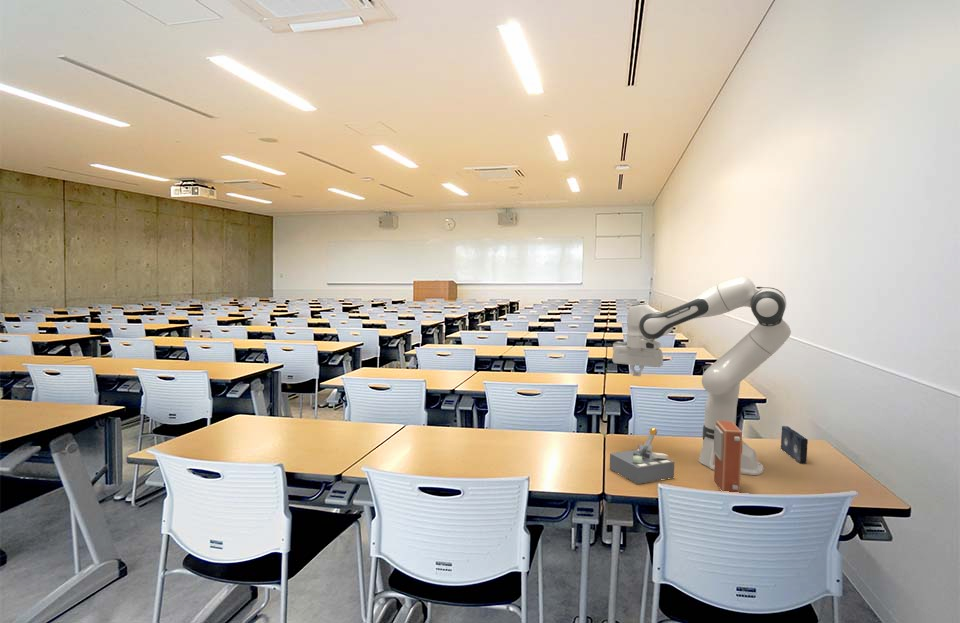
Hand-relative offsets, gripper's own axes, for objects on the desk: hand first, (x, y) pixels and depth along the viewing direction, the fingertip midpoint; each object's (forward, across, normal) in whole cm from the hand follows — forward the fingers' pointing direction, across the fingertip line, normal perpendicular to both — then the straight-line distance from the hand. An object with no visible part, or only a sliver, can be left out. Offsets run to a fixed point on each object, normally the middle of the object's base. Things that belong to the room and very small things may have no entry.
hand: (636, 375), depth 220 cm
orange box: (+31, +38, -22) cm, 54 cm away
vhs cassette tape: (+32, +56, +28) cm, 70 cm away
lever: (+25, +10, -26) cm, 37 cm away
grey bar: (+25, +10, -19) cm, 33 cm away
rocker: (+24, +16, -24) cm, 38 cm away
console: (+31, +10, -26) cm, 42 cm away
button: (+25, +10, -32) cm, 42 cm away
